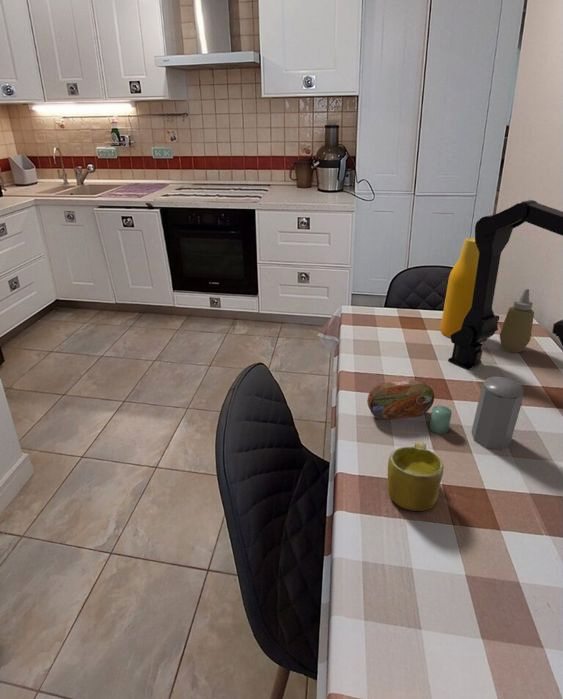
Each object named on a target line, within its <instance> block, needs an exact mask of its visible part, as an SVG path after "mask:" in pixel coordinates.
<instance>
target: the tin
mask: <svg viewBox="0 0 563 699" xmlns="http://www.w3.org/2000/svg"><path fill="white" fill-rule="evenodd" d="M366 400H367V401H366V402H367V406H368V409H369V410H370V413H371V414H372V415H373V417H375V418H377V419H378V420H382V421H383V420H395V419H402V418H412V417H419V416H421V415H423V414H425V413H427V412H428V411H429V410H431V407H433V404H434V402H435V392H434V390H433V389H432V388H431V387H430V386H429V385H428V384H427V383H426V382H425V381H422V380H421V379H420V380H419V379H411V380H398V381H391V382H390V381H389V382H383V383H379V384H378V385H375V386H374V387H373V388H372V389H371V390H370V392H369V394H368V396H367V399H366Z"/></svg>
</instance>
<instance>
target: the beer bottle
mask: <svg viewBox="0 0 563 699" xmlns="http://www.w3.org/2000/svg"><path fill="white" fill-rule="evenodd" d="M463 241H464V242H463V244H462V248H461V252H460V255H459V258H458V261H457V262H456V263H455V264H454V266H453V267H452V269H451V271H450V273H449V276H448V282H447V288H446V294H445V300H444V306H443V311H442V316H441V322H440V330H439V331H440V333H441V334H442V335H443V336H444V337H447V338H450V339H451V335H452V334H454V333H455V332H457V331H459V330H461V327H462V324H463V320H464V318H465V316H466V315H467V313H468V312H469V310H470V309H471V306H472V299H473V292H474V285H475V278H476V272H477V265H478V258H479V250H478V248H477V245H476V243H475V237H466V238H465V239H464V240H463Z"/></svg>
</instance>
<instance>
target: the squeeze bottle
mask: <svg viewBox="0 0 563 699" xmlns="http://www.w3.org/2000/svg"><path fill="white" fill-rule="evenodd" d="M533 304H534V303H533V302H532V301H531V300H530V289H528V288H524V290H523V291H522V293H521V295H520V296H519V298H518V299H517V298H516V299H514V302H513V305H512V306H511V307H509V308H508V311H507V313H506V316H505V320H504V322H503V324H502V328H501V330H500V332H499V340H500V347H501V348H502V349H503V350H505V351H508V352H511V353H521V352H523V351H524V350H525V349H526V347H527V345H528V344H529V343H530V341H531V337H532V330H533V323H534V317H535V316H534V315H535V311H534V310H533V309H532V308H533V306H534V305H533Z"/></svg>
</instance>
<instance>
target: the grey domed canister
mask: <svg viewBox="0 0 563 699" xmlns="http://www.w3.org/2000/svg"><path fill="white" fill-rule="evenodd" d="M524 396H525V393H524V387H523V386H522V385H521V383H519V382H518V381H515V380H513V379H511V378H507V377H503V376H491V377H487V378H486V379H485V380H484V382H483V383H481V389H480V393H479V398H478V403H477V406H476V411H475V415H474V420H473V424H472V427H471V435H472V439H473V441H474V442H476V443H477V444H479V445H481V446H482V447H483V448H486V449H494V450H503V449H505V448H506V447H509V445H511V442H512V439H513V436H514V431H515V428H516V424H517V422H518V417H519V413H520V409H521V406H522V403H523V399H524Z"/></svg>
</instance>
